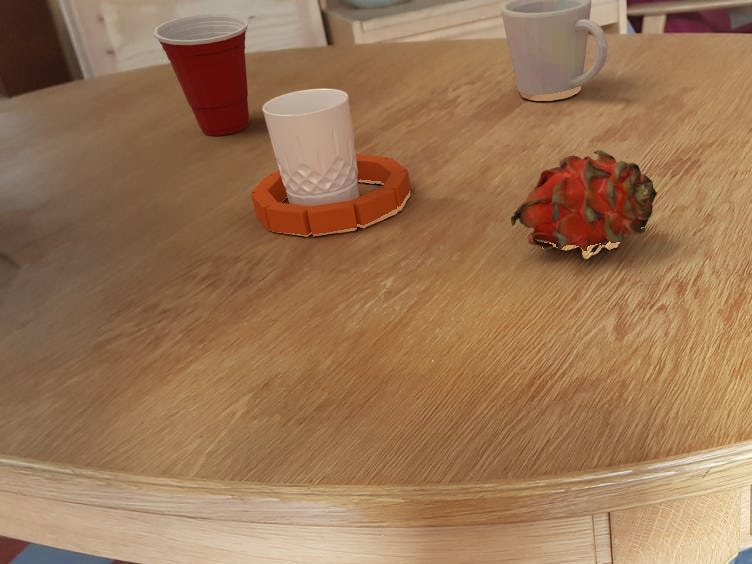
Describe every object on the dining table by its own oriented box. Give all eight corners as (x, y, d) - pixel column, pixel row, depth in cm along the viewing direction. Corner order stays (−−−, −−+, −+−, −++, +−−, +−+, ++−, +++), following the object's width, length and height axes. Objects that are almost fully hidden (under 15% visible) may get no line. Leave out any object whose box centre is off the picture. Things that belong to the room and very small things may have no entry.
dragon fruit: (668, 262, 79) (528, 296, 80) (645, 175, 82) (509, 210, 83) (671, 207, 71) (515, 247, 72) (645, 113, 73) (495, 153, 75)
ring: (228, 215, 93) (222, 191, 91) (350, 167, 101) (346, 144, 99) (315, 251, 84) (309, 225, 83) (441, 195, 92) (438, 171, 90)
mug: (553, 75, 121) (549, -11, 115) (638, 95, 111) (639, 1, 105) (490, 96, 116) (482, 7, 110) (573, 119, 106) (570, 22, 100)
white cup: (275, 224, 90) (249, 117, 84) (300, 192, 96) (278, 90, 90) (354, 222, 88) (334, 112, 82) (375, 190, 94) (358, 86, 88)
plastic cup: (210, 149, 110) (180, 39, 103) (166, 133, 117) (136, 28, 109) (288, 123, 115) (265, 16, 108) (242, 109, 122) (217, 7, 115)
